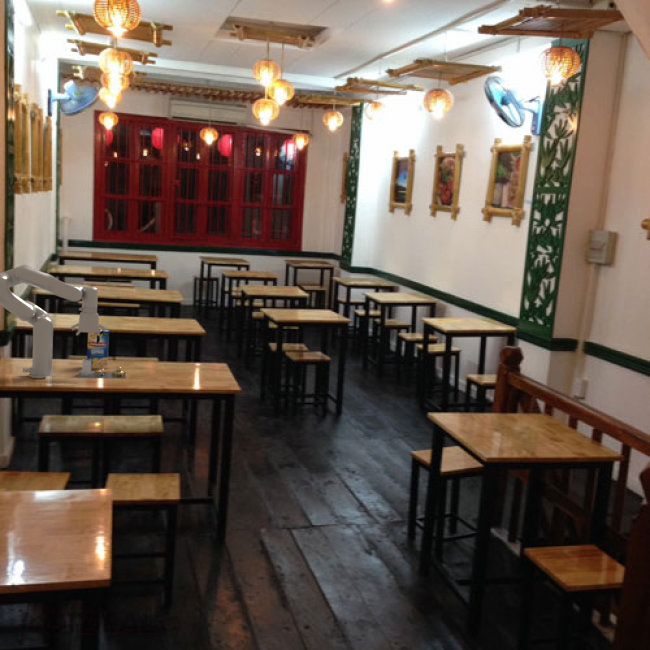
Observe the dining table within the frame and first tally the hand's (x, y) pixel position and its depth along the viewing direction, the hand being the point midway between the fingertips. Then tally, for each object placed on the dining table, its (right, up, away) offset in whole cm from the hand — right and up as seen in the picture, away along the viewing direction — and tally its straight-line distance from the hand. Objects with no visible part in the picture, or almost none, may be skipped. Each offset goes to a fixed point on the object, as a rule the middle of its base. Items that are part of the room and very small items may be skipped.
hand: (87, 342), depth 403 cm
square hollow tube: (-1, -17, +2) cm, 17 cm away
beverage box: (-2, -15, +24) cm, 29 cm away
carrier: (+6, -18, +5) cm, 20 cm away
